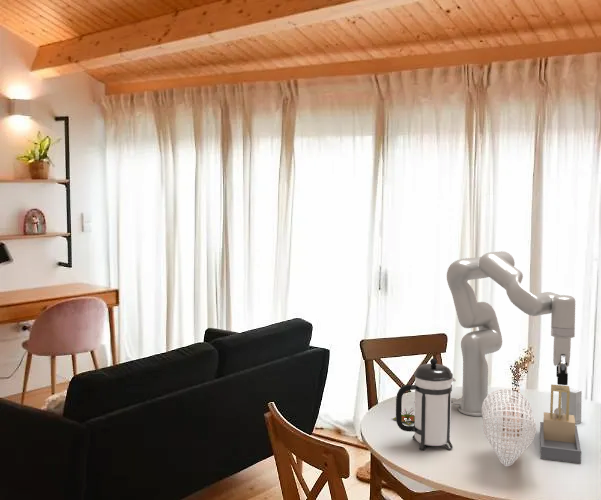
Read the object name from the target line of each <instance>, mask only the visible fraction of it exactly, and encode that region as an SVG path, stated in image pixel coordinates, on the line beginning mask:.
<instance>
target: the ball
mask: <svg viewBox="0 0 601 500" xmlns="http://www.w3.org/2000/svg"><path fill="white" fill-rule="evenodd" d="M553 413H554V414H555V416H556V417H558V418H559V408H558V407H557V408H555V409H554V410H553ZM564 414H565V412H564V410H563V409H562V408H561V418H562V417H563V416H564Z"/></svg>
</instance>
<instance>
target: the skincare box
mask: <svg viewBox="0 0 601 500" xmlns="http://www.w3.org/2000/svg"><path fill="white" fill-rule="evenodd" d="M569 389H570V399H569V415H574V418H575V425H579V424H580V423H582V390H580V389H574V388H570V387H569ZM566 402H567V392H562V393H561V408H562V409H563V410H564V412H565V414H566Z"/></svg>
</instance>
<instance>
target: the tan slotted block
mask: <svg viewBox="0 0 601 500" xmlns="http://www.w3.org/2000/svg"><path fill="white" fill-rule="evenodd" d="M569 388H570V386H569V385H558V384H550V405H549V406H550V408H549V411H550V412H549V413H550V417H551V418H550V419H552V416H553V413H554V406H553V405H554V392H558V402H557V403H558V406H557V408H559V420H560V419H561V393H562V392H567V402H566V419H567V421H569V399H570V389H569Z"/></svg>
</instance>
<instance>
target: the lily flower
mask: <svg viewBox="0 0 601 500" xmlns="http://www.w3.org/2000/svg"><path fill="white" fill-rule="evenodd" d="M413 411H414V409H411V410H410V411H409V412H408V410H407V408H404V411H403V412H402V413H401V420H402V423H405V424H406V425H407V426H411V424H413V423H415V414H414V412H413ZM407 412H408V413H407ZM404 418H407V419H405V420H406V422H405V420H404ZM409 418H410V419H411V420H410V419H409ZM392 420H395V421H396V416H395V417H393V418H392ZM408 421H409V422H410V423H409V422H408ZM411 421H412V422H411ZM407 422H408V423H409V424H408V423H407Z"/></svg>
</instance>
